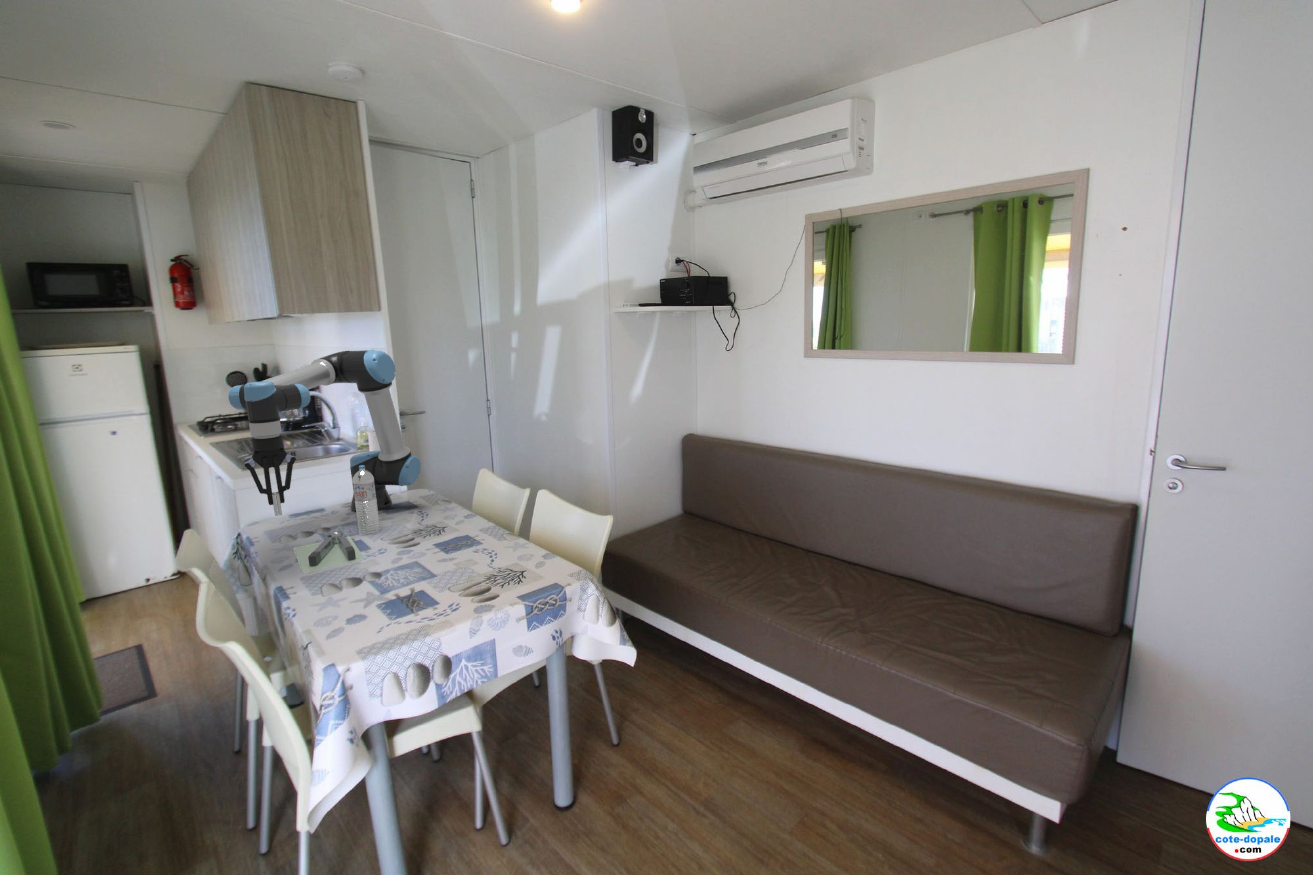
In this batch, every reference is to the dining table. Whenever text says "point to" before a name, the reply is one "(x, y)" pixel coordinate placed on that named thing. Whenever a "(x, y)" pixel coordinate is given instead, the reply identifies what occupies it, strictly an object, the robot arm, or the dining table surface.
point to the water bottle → (366, 502)
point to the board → (329, 560)
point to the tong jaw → (321, 551)
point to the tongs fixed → (343, 544)
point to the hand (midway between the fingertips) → (278, 514)
